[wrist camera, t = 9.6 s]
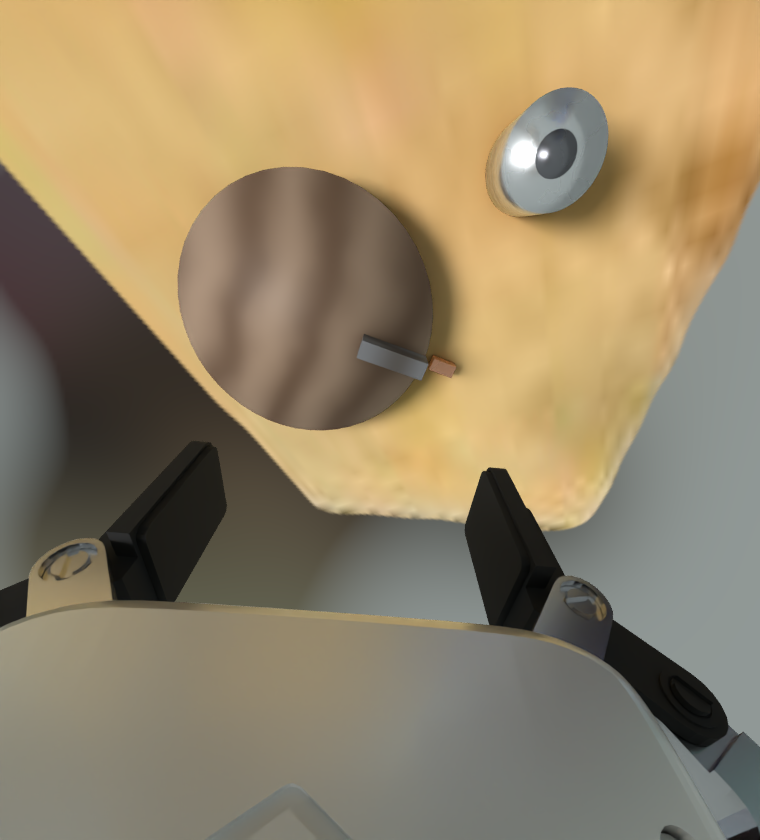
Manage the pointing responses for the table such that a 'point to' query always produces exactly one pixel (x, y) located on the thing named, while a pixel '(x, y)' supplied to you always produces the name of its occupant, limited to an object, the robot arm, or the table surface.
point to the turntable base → (441, 366)
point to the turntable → (305, 298)
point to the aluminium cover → (548, 154)
